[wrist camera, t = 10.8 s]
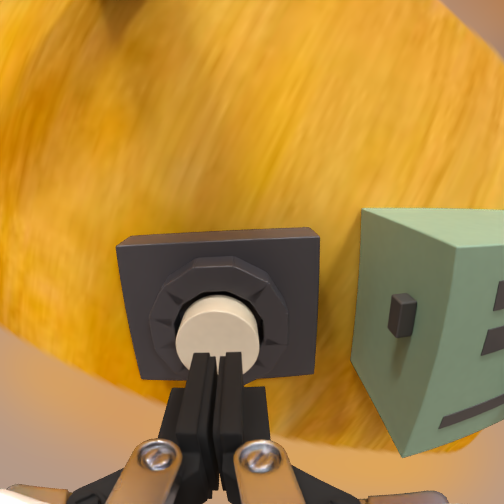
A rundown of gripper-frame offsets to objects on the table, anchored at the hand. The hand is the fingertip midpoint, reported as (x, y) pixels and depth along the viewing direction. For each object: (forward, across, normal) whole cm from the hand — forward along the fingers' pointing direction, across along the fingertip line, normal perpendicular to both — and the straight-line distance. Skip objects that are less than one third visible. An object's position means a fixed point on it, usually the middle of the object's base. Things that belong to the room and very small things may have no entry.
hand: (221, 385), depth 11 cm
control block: (+8, 0, 0) cm, 8 cm away
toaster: (+8, -15, 0) cm, 17 cm away
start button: (+4, 0, 0) cm, 4 cm away
